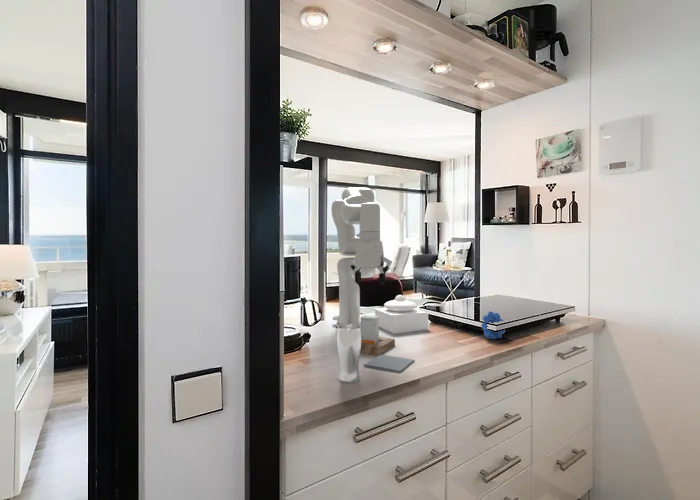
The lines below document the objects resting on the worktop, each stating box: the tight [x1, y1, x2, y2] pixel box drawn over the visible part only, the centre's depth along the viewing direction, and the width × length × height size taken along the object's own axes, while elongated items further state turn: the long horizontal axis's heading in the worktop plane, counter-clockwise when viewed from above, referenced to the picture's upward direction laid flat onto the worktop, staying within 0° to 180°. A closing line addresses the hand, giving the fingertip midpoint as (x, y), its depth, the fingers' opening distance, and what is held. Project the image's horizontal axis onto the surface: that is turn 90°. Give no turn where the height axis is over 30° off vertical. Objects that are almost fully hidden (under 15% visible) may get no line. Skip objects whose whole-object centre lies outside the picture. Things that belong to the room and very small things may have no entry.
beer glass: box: [336, 324, 361, 384], centre depth 105 cm, size 7×7×15 cm
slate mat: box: [363, 353, 415, 374], centre depth 117 cm, size 12×12×1 cm
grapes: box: [480, 311, 506, 340], centre depth 145 cm, size 12×7×12 cm, turn 115°
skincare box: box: [360, 314, 380, 345], centre depth 136 cm, size 6×4×12 cm
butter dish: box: [373, 294, 429, 334], centre depth 167 cm, size 18×18×16 cm
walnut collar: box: [360, 336, 396, 357], centre depth 136 cm, size 14×14×3 cm
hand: (369, 283), depth 135 cm, fingers open, 9 cm apart
